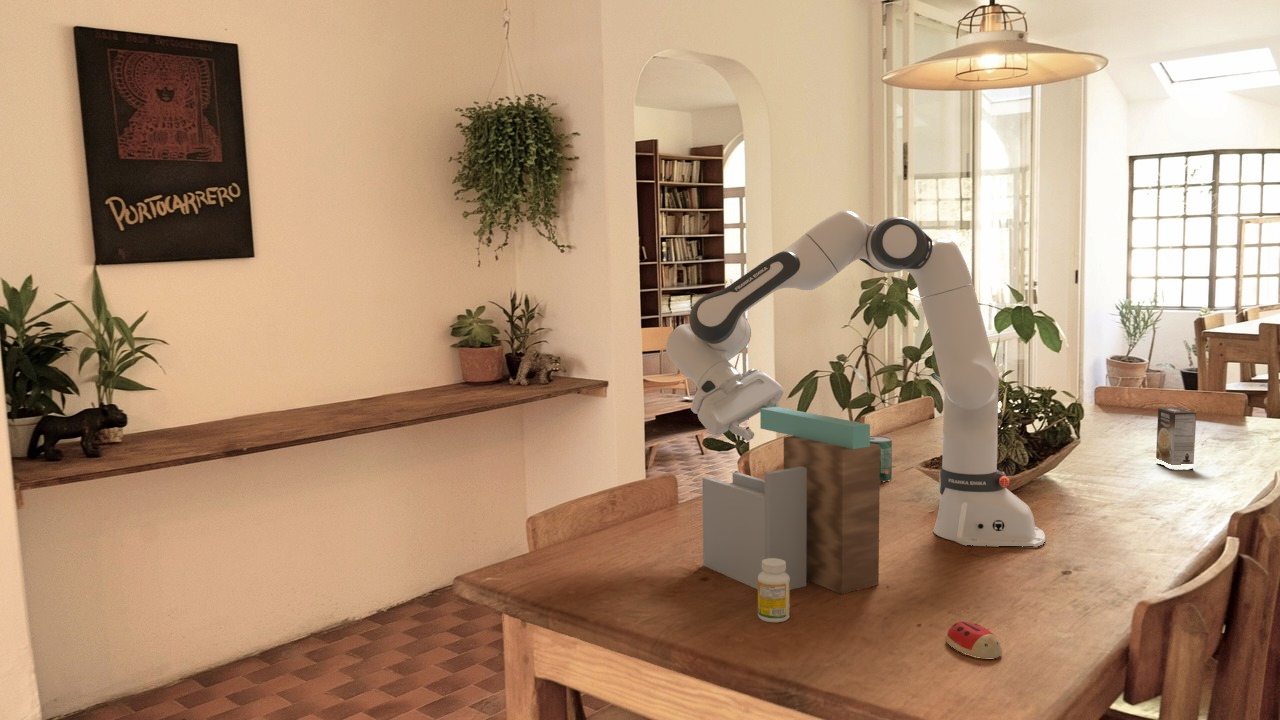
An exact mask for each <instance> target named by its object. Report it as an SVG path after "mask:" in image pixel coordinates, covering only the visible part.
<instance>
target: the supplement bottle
mask: <svg viewBox="0 0 1280 720" xmlns="http://www.w3.org/2000/svg"><path fill="white" fill-rule="evenodd" d="M762 570H763V572H761V573H760V574H759V575H758V589H757V616H758V618H759V619H760V620H761V621H763V622H768V623H783V622H786V621H787V620H788V619H789V618H790V615H791V614H790V613H791V612H790V608H791V604H790V601H791V597H790V596H791V594H790V593H791V590H790V577H789V575H788V574H787V573H785V570H786V562H785V561H784V560H782V559H777V558H768V559H764V560H762Z"/></svg>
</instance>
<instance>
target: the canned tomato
mask: <svg viewBox="0 0 1280 720" xmlns="http://www.w3.org/2000/svg"><path fill="white" fill-rule="evenodd" d="M870 443H873V444H878V445H880V483H882V482H881V481H888V480H891V479H892V480H893V478H892V475H893V474H892V473H893V472H892V469H893V467H892V466H893V465H892V464H893V463H892V462H893V460H892V459H893V439H892V437H889V436H882V435H870ZM892 480H891V481H892ZM888 482H889V481H888Z"/></svg>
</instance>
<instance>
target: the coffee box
mask: <svg viewBox="0 0 1280 720" xmlns="http://www.w3.org/2000/svg"><path fill="white" fill-rule="evenodd" d="M1157 409H1158V410H1157V428H1156V430H1157V431H1156V451H1155V452H1156V453H1155V459H1156V458H1157V459H1159V460H1162V461H1164V462H1166V463H1168V464H1171V465H1181V464H1195V463H1194V462H1195V446H1196V445H1195V443H1196V428H1197V427H1196V425H1197V423H1196V422H1197V412H1195V411H1192V410H1189V409H1186V408H1183V407H1181V406H1180V407H1179V406H1178V407H1175V406H1174V407H1158V408H1157Z"/></svg>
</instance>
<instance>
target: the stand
mask: <svg viewBox="0 0 1280 720" xmlns="http://www.w3.org/2000/svg"><path fill="white" fill-rule="evenodd" d="M795 467H805V468H807V520H806V581H808V582H811V583H813V584H816V585H818V586H821V587H823V588H825V587H826V588H825V589H828V590H830V589H831V590H830V591H833V592H835V591H836V592H835V593H838V594H840V593H841V595H844V594H843V593H845V594H848V593H847V592H849V593H852V592H851V591H853V592H855V591H854V590H857V591H859V590H858V589H861V590H864V589H868V588H871V587H870V586H872V587H875V585H876V586H879V585H878V584H879V582H880V581H879V578H880V576H879V574H880V573H879V572H880V571H879V570H880V569H879V568H880V563H879V562H880V560H879V559H880V486H881V485H880V484H881V482H880V445H878V444H873V443H870V447H864V448H857V449H850V448H846V447H841V446H837V445H832V444H828V443H823V442H819V441H814V440H810V439H805V438H801V437H796V436H792V435H788V436H784V437H783V469H789V468H795ZM867 587H868V588H867ZM863 588H864V589H863Z"/></svg>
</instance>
